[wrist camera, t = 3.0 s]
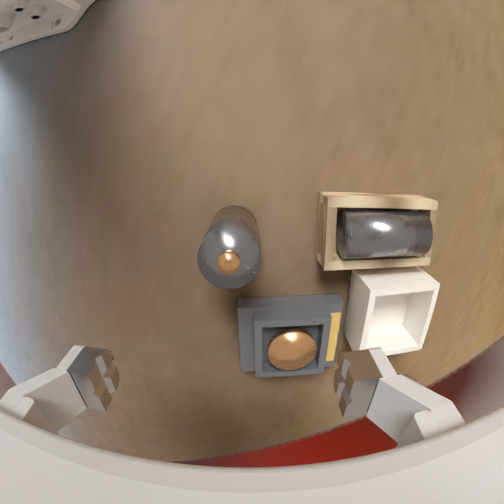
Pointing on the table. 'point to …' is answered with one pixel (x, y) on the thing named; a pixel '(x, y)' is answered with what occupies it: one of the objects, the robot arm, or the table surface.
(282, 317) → the cradle
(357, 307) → the white square box
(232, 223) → the cylinder
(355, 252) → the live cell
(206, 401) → the table surface
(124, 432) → the table surface
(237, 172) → the table surface
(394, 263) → the trough
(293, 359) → the copper disc
